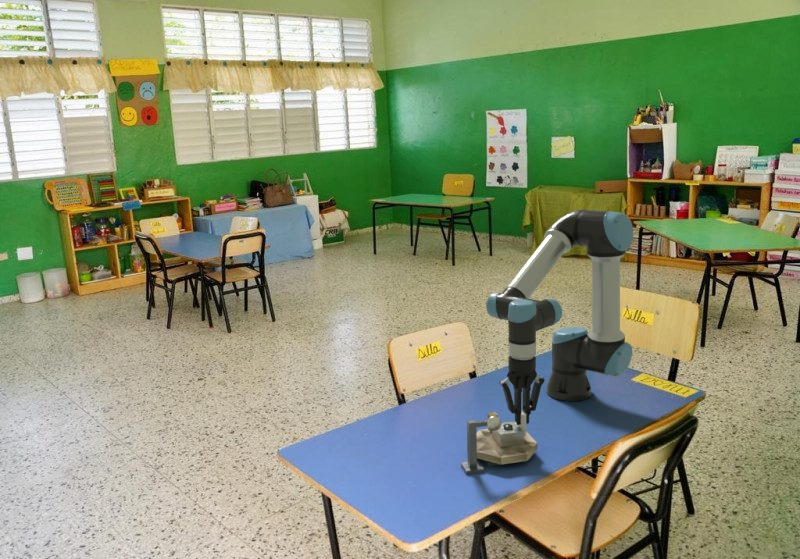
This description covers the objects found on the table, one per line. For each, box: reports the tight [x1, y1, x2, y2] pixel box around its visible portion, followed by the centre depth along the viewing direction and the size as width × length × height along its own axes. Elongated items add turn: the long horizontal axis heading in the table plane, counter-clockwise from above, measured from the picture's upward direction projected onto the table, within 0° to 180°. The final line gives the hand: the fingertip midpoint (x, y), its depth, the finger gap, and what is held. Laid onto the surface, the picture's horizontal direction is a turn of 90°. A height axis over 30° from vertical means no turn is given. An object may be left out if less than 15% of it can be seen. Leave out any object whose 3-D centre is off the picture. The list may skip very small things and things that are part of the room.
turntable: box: [477, 411, 538, 465], centre depth 190 cm, size 18×18×7 cm
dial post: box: [460, 416, 503, 475], centre depth 182 cm, size 10×5×15 cm, turn 102°
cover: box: [492, 420, 524, 448], centre depth 190 cm, size 7×7×5 cm
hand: (521, 434), depth 191 cm, fingers closed
